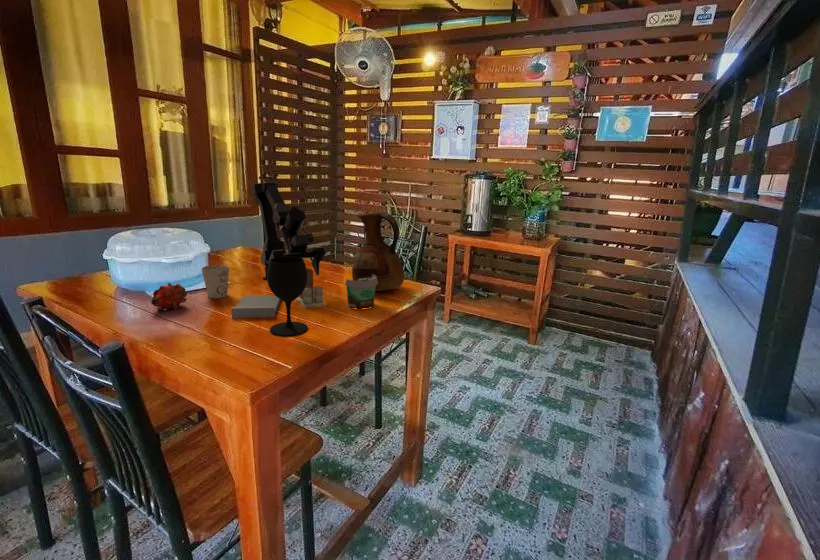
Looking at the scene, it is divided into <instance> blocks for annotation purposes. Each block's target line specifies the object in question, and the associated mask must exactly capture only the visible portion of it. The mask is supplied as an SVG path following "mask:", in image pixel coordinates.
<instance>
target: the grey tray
mask: <svg viewBox="0 0 820 560" xmlns="http://www.w3.org/2000/svg"><path fill="white" fill-rule="evenodd" d="M281 301H282V300H281V299H279V298H278V297H276V296H275V295H242V297H241V298H240V300H239V302H238V304H237V305H236V306H232V307H231V308H230V311H231V319H241V318H244V319H245V318H247V319H248V318H253V319H255V318H256V319H257V318H275V316H276V314H277V310H278V309H279V306H280V303H281Z"/></svg>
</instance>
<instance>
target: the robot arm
mask: <svg viewBox="0 0 820 560" xmlns="http://www.w3.org/2000/svg"><path fill="white" fill-rule="evenodd" d="M250 193H251V195H252V197H253V200H254V202H255V203H256V204H257V205H258V206H259V210H260V216H261V223H262V227H263V232H264V238H265V239H264V240H265V242H264V244H263V247H262V251H261V254H260V258H259V259H260V260H259V261H260V264H261V265H263V266H264V267H265V269H264V270H265V271H264V273H265V276H264V277H262V280H267V270H268V265H269V262H270V259H272V258H276V257H299V258H302V259H308V258H309V259H310V261H311V263H310V264H311V266H312V268H313V272H314V273H315V275H316V276H317V277H318V276H320V263H321V262H323V259H324V257H325V256H326V254H327V252H326V249H325V247H323V246H318V247H315V246H313V247H312V249H311V251H306V250H308V246H309V245H310V244H313V243H314V241H315V238H314V234H313V233H312V232H311V233H310V232H308V233H306V234H300V233H299V231H300V230H301V229H302V227H303V225H304V222H305V220H306V216H307V215H306V214H305V212H304V211H302V210H301V209H299V208H298V207H297V206H290V205H287V204H286V202H285V201H284V198H283V197H282V194H281V193H280V191H279V189H278V184H277V182H274V181H263V182H254V183H253V184H252V185H251V186H250ZM277 227H281V229H280V232H281V233H280V237H282V239H283V240H281V239H279V237H278V232H277ZM284 244H285V245H284Z"/></svg>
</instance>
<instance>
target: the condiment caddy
mask: <svg viewBox="0 0 820 560" xmlns="http://www.w3.org/2000/svg"><path fill="white" fill-rule="evenodd" d="M306 270H307V284H306V287H305V289H304V291H303V292H302V293H301V295H300V296H299V297H297V298H296V299H295V301H294V302H295V303H297V302H298V303H299V304H298V303H297V304H298V305H299V306H301V305H302V306H301V307H303V308H304V309H305V308H306V310H310V309H314V308H320V307H321V306H322V307H326V306H327V302H325V301H324V300H323V299H324V295H323V294H324V293H323V286H318V285H317V286H314V269H310V268H306ZM322 307H321V308H322Z"/></svg>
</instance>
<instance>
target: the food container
mask: <svg viewBox="0 0 820 560" xmlns="http://www.w3.org/2000/svg"><path fill="white" fill-rule="evenodd" d="M344 283H345V284H344V286H346V294H347V303H348V304H347V307H350V308H357V309H362V308H369V307H372V306H373V307H374V303H375V295H376V291H375V288H376V285H377V284H378V280H377V277H376V276H375V275H373V274H372V277H369V278H359V279H356V280H354V281H353V279H346V280H345V282H344ZM373 307H372V308H373ZM350 308H349V309H350Z"/></svg>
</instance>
